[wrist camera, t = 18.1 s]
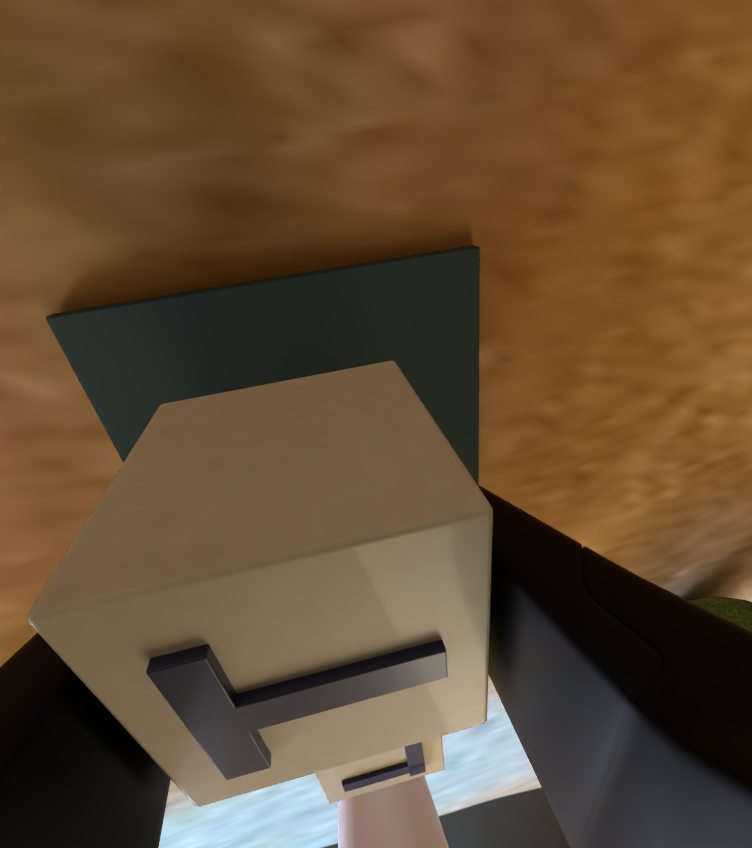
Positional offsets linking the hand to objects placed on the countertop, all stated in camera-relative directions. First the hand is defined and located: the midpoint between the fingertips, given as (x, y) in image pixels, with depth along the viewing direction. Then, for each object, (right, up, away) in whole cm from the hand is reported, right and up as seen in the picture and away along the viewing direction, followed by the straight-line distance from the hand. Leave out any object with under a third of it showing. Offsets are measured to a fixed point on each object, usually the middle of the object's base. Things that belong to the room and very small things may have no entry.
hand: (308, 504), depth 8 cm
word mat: (0, -3, +8) cm, 8 cm away
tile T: (0, +1, +1) cm, 1 cm away
